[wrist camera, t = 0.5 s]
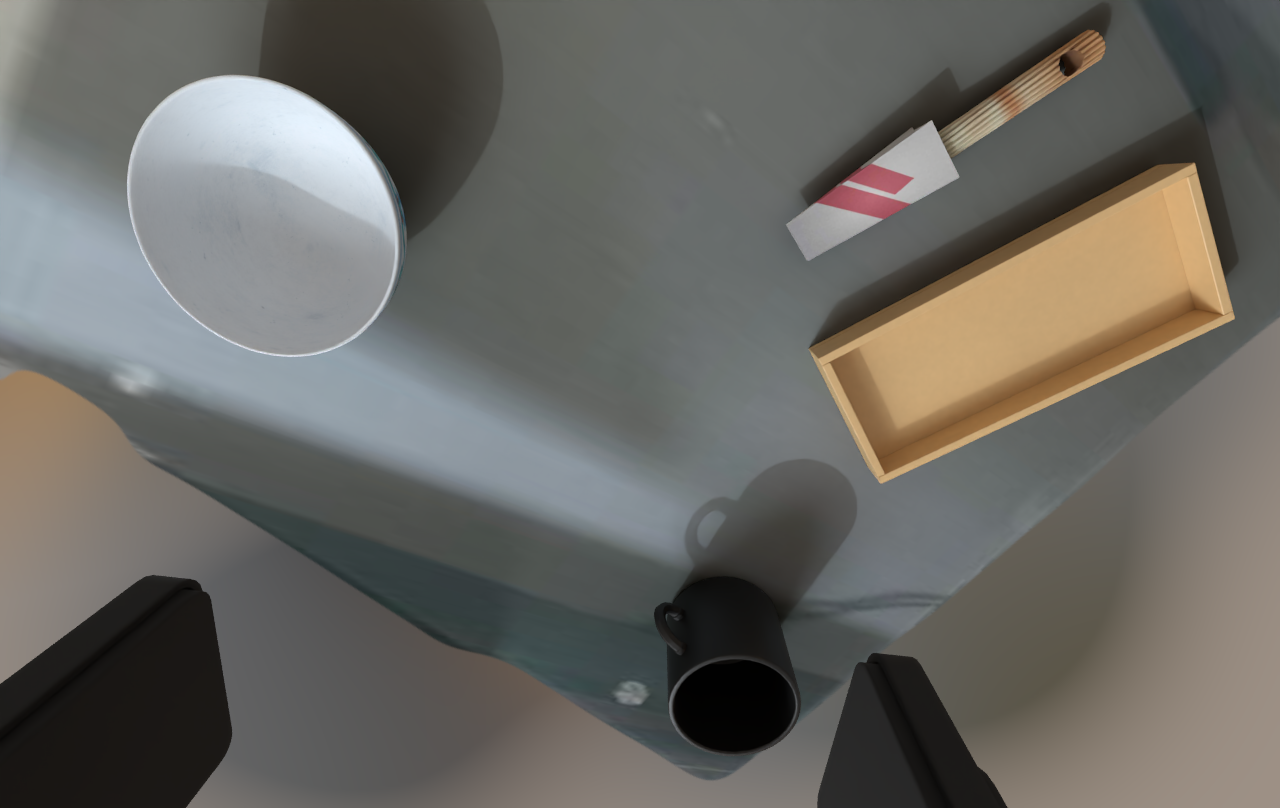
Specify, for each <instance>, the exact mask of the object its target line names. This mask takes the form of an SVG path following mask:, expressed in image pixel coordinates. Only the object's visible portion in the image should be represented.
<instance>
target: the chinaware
mask: <svg viewBox="0 0 1280 808" xmlns="http://www.w3.org/2000/svg"><path fill="white" fill-rule="evenodd" d="M127 194H128V205H129V211H130V216H131V221H132V225H133V228H134V232H135V235H136V238H137V241H138V243H139V246H140V248H141V250H142V252H143V255H144V257H145V259H146V261H147V263H148V264H149V266H150V268H151V270H152V271H153V273H154V274H155V276H156V278H157V279H158V280H159V282H160V283H161V285H162V286H163V287H164V289H165V290H166V291H167V292H168V294H169V295H170V296H171V297H172V298H173V299H174V301H175V302H176V303H177V304H178V305H179V306H180V307H181V308H182V309H183V310H184V311H185V312H186V313H188V314H189V315H190V316H191V317H192V318H193V319H195V320H196V321H197V322H198V323H200V324H201V325H202V326H204V327H205V328H207V329H208V330H210V331H211V332H213V333H214V334H216V335H218V336H220V337H221V338H223V339H225V340H227V341H229V342H231V343H233V344H236V345H238V346H240V347H243V348H246V349H249V350H252V351H255V352H259V353H263V354H268V355H275V356H285V357H299V356H309V355H315V354H320V353H324V352H327V351H330V350H333V349H335V348H338V347H340V346H342V345H344V344H346V343H348V342H350V341H351V340H353V339H354V338H356V337H357V336H359V335H360V334H361V333H362V332H364V331H365V330H366V329H367V328H368V327H369V326H370V325H371V324H372V323H373V322H374V321H375V320H376V319H377V318H378V316H379V315H380V314H381V313H382V311H383V310H384V309H385V307H386V306H387V304H388V303H389V301H390V300H391V298H392V296H393V294H394V292H395V290H396V288H397V286H398V283H399V281H400V278H401V275H402V272H403V268H404V263H405V258H406V248H407V231H406V222H405V216H404V211H403V207H402V204H401V200H400V197H399V194H398V192H397V189H396V187H395V185H394V182H393V180H392V178H391V176H390V174H389V173H388V171H387V169H386V167H385V166H384V164H383V163H382V161H381V160H380V158H379V157H378V155H377V154H376V153H375V151H374V150H373V149H372V147H371V146H370V145H369V144H368V143H367V142H366V140H365V139H364V138H363V137H362V136H361V135H360V134H359V133H358V132H357V131H356V130H355V129H354V128H353V127H352V126H351V125H350V124H348V123H347V122H346V121H345V120H344V119H343V118H341V117H340V116H339V115H337V114H336V113H335V112H334V111H332V110H331V109H329V108H328V107H326V106H325V105H324V104H322V103H320V102H319V101H317V100H316V99H314V98H312V97H311V96H309V95H307V94H305V93H303V92H301V91H299V90H297V89H295V88H293V87H290V86H288V85H285V84H282V83H279V82H276V81H273V80H270V79H265V78H261V77H255V76H247V75H222V76H215V77H209V78H205V79H202V80H198V81H195V82H193V83H190V84H188V85H186V86H184V87H182V88H180V89H178V90H177V91H175V92H174V93H172V94H171V95H169V96H168V97H167V98H165V99H164V100H163V101H162V102H161V103H160V104H159V105H158V106H157V107H156V108H155V109H154V110H153V111H152V113H151V114H150V115H149V117H148V118H147V119H146V121H145V122H144V124H143V126H142V127H141V129H140V131H139V133H138V136H137V138H136V140H135V143H134V146H133V149H132V152H131V156H130V161H129V167H128V177H127Z"/></svg>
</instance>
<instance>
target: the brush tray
mask: <svg viewBox="0 0 1280 808" xmlns="http://www.w3.org/2000/svg"><path fill="white" fill-rule="evenodd" d="M1233 319H1235V316H1234V312H1233V309H1232V305H1231V301H1230V297H1229V293H1228V290H1227V286H1226V282H1225V278H1224V274H1223V270H1222V266H1221V263H1220V259H1219V255H1218V251H1217V247H1216V243H1215V239H1214V235H1213V232H1212V228H1211V224H1210V220H1209V216H1208V212H1207V208H1206V205H1205V201H1204V197H1203V193H1202V189H1201V185H1200V181H1199V177H1198V174H1197V169H1196V165H1195V163H1179V164H1161V165H1156V166H1154V167H1152V168H1150V169H1149V170H1147V171H1145V172H1143V173H1141V174H1139V175H1137V176H1135V177H1133V178H1131V179H1130V180H1128V181H1126V182H1124V183H1122V184H1120V185H1118V186H1116V187H1114V188H1112V189H1111V190H1109V191H1107V192H1105V193H1103V194H1101V195H1099V196H1097V197H1095V198H1093V199H1091V200H1090V201H1088V202H1086V203H1084V204H1082V205H1080V206H1078V207H1076V208H1074V209H1072V210H1071V211H1069V212H1067V213H1065V214H1063V215H1061V216H1059V217H1057V218H1055V219H1053V220H1052V221H1050V222H1048V223H1046V224H1044V225H1042V226H1040V227H1038V228H1036V229H1034V230H1033V231H1031V232H1029V233H1027V234H1025V235H1023V236H1021V237H1019V238H1017V239H1015V240H1014V241H1012V242H1010V243H1008V244H1006V245H1004V246H1002V247H1000V248H998V249H996V250H995V251H993V252H991V253H989V254H987V255H985V256H983V257H981V258H979V259H977V260H976V261H974V262H972V263H970V264H968V265H966V266H964V267H962V268H960V269H958V270H957V271H955V272H953V273H951V274H949V275H947V276H945V277H943V278H941V279H939V280H938V281H936V282H934V283H932V284H930V285H928V286H926V287H924V288H922V289H920V290H919V291H917V292H915V293H913V294H911V295H909V296H907V297H905V298H903V299H901V300H900V301H898V302H896V303H894V304H892V305H890V306H888V307H886V308H884V309H882V310H881V311H879V312H877V313H875V314H873V315H871V316H869V317H867V318H865V319H863V320H862V321H860V322H858V323H856V324H854V325H852V326H850V327H848V328H846V329H844V330H843V331H841V332H839V333H837V334H835V335H833V336H831V337H829V338H827V339H825V340H824V341H822V342H820V343H818V344H816V345H814V346H812V347H810V348H809V350H810V352H811V354H812V356H813V358H814V360H815V362H816V364H817V366H818V368H819V370H820V372H821V374H822V376H823V378H824V380H825V382H826V384H827V386H828V388H829V390H830V392H831V394H832V396H833V398H834V400H835V402H836V404H837V406H838V408H839V410H840V412H841V414H842V416H843V418H844V420H845V422H846V424H847V426H848V428H849V430H850V432H851V434H852V436H853V438H854V440H855V442H856V444H857V446H858V448H859V450H860V452H861V454H862V456H863V458H864V460H865V462H866V464H867V466H868V468H869V469H870V470H871V472H872V473H873V474H874V476H875V477H876V478H877V480H878V481H879V482H880V483H881V484H882V483H884V482H886V481H888V480H890V479H893V478H895V477H897V476H899V475H901V474H903V473H905V472H908V471H910V470H912V469H914V468H916V467H918V466H920V465H923V464H925V463H927V462H929V461H931V460H933V459H935V458H938V457H940V456H942V455H944V454H946V453H948V452H950V451H953V450H955V449H957V448H959V447H961V446H963V445H965V444H968V443H970V442H972V441H974V440H976V439H978V438H980V437H983V436H985V435H987V434H989V433H991V432H993V431H995V430H998V429H1000V428H1002V427H1004V426H1006V425H1008V424H1010V423H1013V422H1015V421H1017V420H1019V419H1021V418H1023V417H1025V416H1028V415H1030V414H1032V413H1034V412H1036V411H1038V410H1040V409H1043V408H1045V407H1047V406H1049V405H1051V404H1053V403H1055V402H1058V401H1060V400H1062V399H1064V398H1066V397H1068V396H1070V395H1073V394H1075V393H1077V392H1079V391H1081V390H1083V389H1085V388H1088V387H1090V386H1092V385H1094V384H1096V383H1098V382H1100V381H1103V380H1105V379H1107V378H1109V377H1111V376H1113V375H1115V374H1118V373H1120V372H1122V371H1124V370H1126V369H1128V368H1130V367H1133V366H1135V365H1137V364H1139V363H1141V362H1143V361H1146V360H1148V359H1150V358H1152V357H1154V356H1156V355H1158V354H1161V353H1163V352H1165V351H1167V350H1169V349H1171V348H1173V347H1176V346H1178V345H1180V344H1182V343H1184V342H1186V341H1188V340H1191V339H1193V338H1195V337H1197V336H1199V335H1201V334H1203V333H1206V332H1208V331H1210V330H1212V329H1214V328H1216V327H1218V326H1221V325H1223V324H1225V323H1227V322H1229V321H1231V320H1233Z"/></svg>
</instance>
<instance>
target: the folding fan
mask: <svg viewBox="0 0 1280 808" xmlns="http://www.w3.org/2000/svg"><path fill="white" fill-rule="evenodd" d="M1104 44H1105V41H1104V40H1103V37H1102V35H1099V32H1095V31H1094V30H1091V31H1090V30H1087V31H1085V32H1083V33H1082V34H1080V35H1079V36H1077V37H1076V38H1074V39H1073V40H1071V41H1070V42H1068V43H1067V44H1065V45H1064V46H1063V47H1061V48H1060V49H1058V50H1057V51H1055V52H1054V53H1052V54H1051V55H1049V56H1048V57H1047V58H1045V59H1044V60H1042V61H1041V62H1039V63H1038V64H1036V65H1035V66H1033V67H1032V68H1030V69H1029V70H1028V71H1026V72H1025V73H1023V74H1022V75H1020V76H1019V77H1017V78H1016V79H1014V80H1013V81H1012V82H1010V83H1009V84H1007V85H1006V86H1004V87H1003V88H1002V89H1000V90H999V91H997V92H996V93H994V94H993V95H991V96H990V97H989V98H987V99H986V100H984V101H983V102H981V103H980V104H978V105H977V106H976V107H974V108H973V109H971V110H970V111H968V112H967V113H966V114H964V115H963V116H961V117H960V118H958V119H957V120H955V121H954V122H952V123H951V124H949V125H948V126H946V127H945V128H943V129H942V130H940V131H939V132H937V130H936V128H935V126H934V124H933V122H932V120H931V121H929V122H928V123H926V124H924V125H922V126H920V127H919V128H917V129H915V130H914V129H913V127H911V128H910V129H909V130H907V131H906V132H905V133H904V134H902V135H901V136H900V137H898V138H897V139H896V140H895V141H893V142H892V143H891V144H889V145H888V146H887V147H886V148H884V149H883V150H882V151H880V152H879V153H878V154H876V155H875V156H874V157H873V158H871V159H870V160H869V161H867V162H866V163H865V164H864V165H862V166H861V167H860V168H858V169H857V170H856V171H855V172H853V173H852V174H851V175H849V176H848V177H847V178H846V179H844V180H843V181H842V182H840V183H839V184H838V185H837V186H835V187H834V188H833V189H831V190H830V191H829V192H827V193H826V194H825V195H824V196H822V197H821V198H820V199H818V200H817V201H816V202H815V203H813V204H812V205H811V206H809V207H808V208H807V209H806V210H804V211H803V212H802V213H800V214H799V215H798V216H797V217H795V218H794V219H793V220H791V221H790V222H789V223H788V224H786V226H787V227H788V229H789V231H790V232H791V234H792V236H793V238H794V239H795V241H796V243H797V244H798V246H799V248H800V249H801V251H802V253H803V255H804V256H805V258H806V260H807V261H809V260H811V259H813V258H814V257H816V256H818V255H820V254H822V253H823V252H825V251H827V250H829V249H831V248H832V247H834V246H836V245H838V244H840V243H841V242H843V241H845V240H847V239H849V238H850V237H852V236H854V235H856V234H858V233H860V232H861V231H863V230H865V229H867V228H869V227H870V226H872V225H874V224H876V223H878V222H879V221H881V220H883V219H885V218H887V217H888V216H890V215H892V214H894V213H896V212H897V211H899V210H901V209H903V208H905V207H907V206H908V205H910V204H912V203H914V202H916V201H917V200H919V199H921V198H923V197H925V196H926V195H928V194H930V193H932V192H934V191H935V190H937V189H939V188H941V187H943V186H944V185H946V184H948V183H950V182H952V181H954V180H955V179H957V178H959V175H958V173H957V171H956V169H955V167H954V165H953V163H952V161H951V158H952V157H954V156H956V155H957V154H959V153H960V152H962V151H963V150H964V149H966V148H967V147H969V146H970V145H972V144H973V143H975V142H976V141H978V140H979V139H981V138H982V137H984V136H986V135H987V134H989V133H990V132H992V131H993V130H995V129H996V128H998V127H999V126H1001V125H1002V124H1004V123H1005V122H1007V121H1008V120H1010V119H1011V118H1013V117H1014V116H1016V115H1017V114H1019V113H1020V112H1022V111H1023V110H1025V109H1026V108H1028V107H1029V106H1031V105H1032V104H1034V103H1035V102H1037V101H1038V100H1040V99H1041V98H1043V97H1044V96H1046V95H1047V94H1049V93H1050V92H1052V91H1053V90H1055V89H1056V88H1058V87H1059V86H1061V85H1062V84H1064V83H1066V82H1067V81H1069V80H1070V79H1072V78H1073V77H1075V76H1076V75H1078V74H1079V73H1081V72H1082V71H1084V70H1085V69H1087V68H1088V67H1090V66H1091V65H1093V64H1094V63H1096V62H1097V61H1099V60H1100V59H1101V58H1102V57H1103V54H1104V53H1105V49H1106V46H1105V45H1104ZM1060 57H1061V58H1062V61H1063V62H1064V67H1066V69H1065V71H1064V75H1062V72H1061V71H1060V66H1058V64H1059V61H1060V59H1059V58H1060Z"/></svg>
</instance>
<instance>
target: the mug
mask: <svg viewBox="0 0 1280 808" xmlns="http://www.w3.org/2000/svg"><path fill="white" fill-rule="evenodd" d="M666 614H668V616H667V622H666V618H665V615H666ZM654 618H655V624H656V627H657V629H658V631H659V633H660V635H661V637H662V638H663V639H664V641H665V642H666V643H667V671H668V710H669V715H670V719H671V721H672V723H673V725H674V727H675V729H676V730H677V731H678V733H679V734H680V735H681V736H682V737H683V738H684V739H685V740H686V741H688V742H689V743H690V744H692V745H693V746H695V747H697V748H699V749H701V750H704V751H706V752H709V753H713V754H717V755H724V756H742V755H749V754H754V753H757V752H760V751H763V750H766V749H768V748H770V747H772V746H774V745H775V744H777V743H778V742H780V741H781V740H782V739H783V738H784V737H786V736H787V735H788V734H789V733H790V731H791V730H792V729H793V727H794V726H795V724H796V722H797V720H798V717H799V713H800V707H801V699H800V692H799V689H798V685H797V682H796V678H795V675H794V671H793V667H792V664H791V660H790V657H789V653H788V650H787V646H786V643H785V639H784V636H783V632H782V629H781V625H780V621H779V618H778V614H777V611H776V608H775V606H774V604H773V603H772V601H771V600H770V598H769V597H768V596H767V595H766V594H765V593H764V592H763V591H762V590H760V589H759V588H758V587H756V586H754V585H753V584H751V583H749V582H746V581H744V580H740V579H736V578H729V577H717V578H710V579H706V580H703V581H700V582H698V583H695V584H693V585H692V586H690V587H688V588H687V589H686V590H684V591H683V592H682V593H681V594H680V595H679V596H678V597H677V598H676V600H675V601H674V603H673V604H671V603H666V602H664V603H662V604H660V605H659V606H657V607H656V609H655V612H654Z"/></svg>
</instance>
